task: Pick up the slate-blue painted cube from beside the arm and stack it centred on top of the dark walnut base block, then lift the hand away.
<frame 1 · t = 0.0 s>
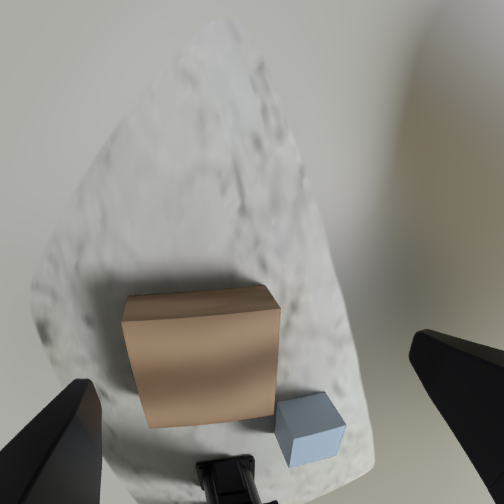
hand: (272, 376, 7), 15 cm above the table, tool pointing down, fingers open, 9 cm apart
walnut base: (201, 346, 24), on the table
blue cube: (299, 413, 29), on the table
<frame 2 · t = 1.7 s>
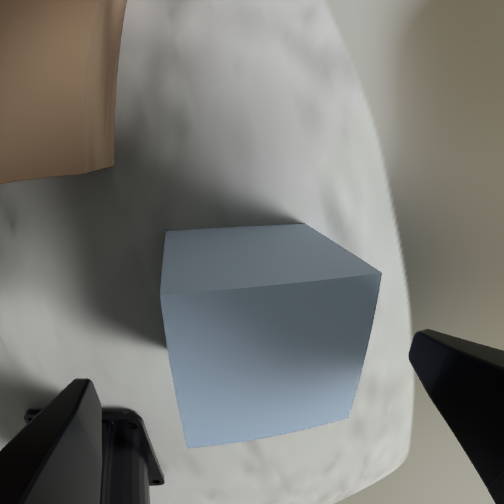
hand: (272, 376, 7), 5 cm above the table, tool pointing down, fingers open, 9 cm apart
walnut base: (5, 53, 7), on the table
blue cube: (238, 291, 12), on the table
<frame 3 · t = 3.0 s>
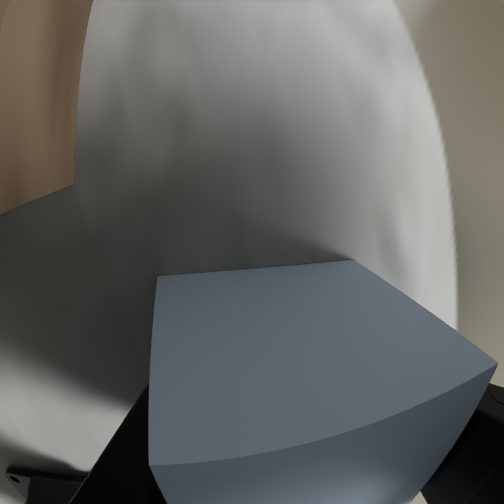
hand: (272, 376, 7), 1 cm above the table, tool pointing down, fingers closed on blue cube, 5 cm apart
blue cube: (261, 352, 8), on the table, touching gripper
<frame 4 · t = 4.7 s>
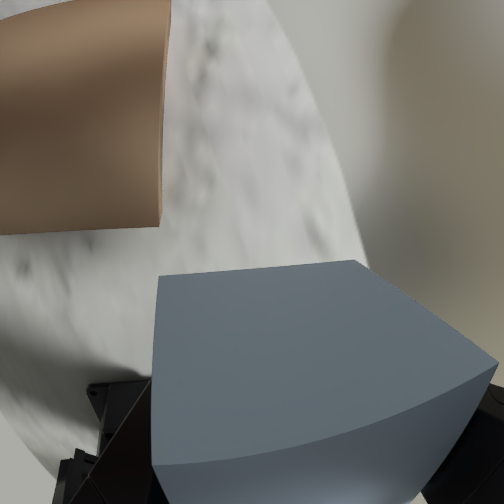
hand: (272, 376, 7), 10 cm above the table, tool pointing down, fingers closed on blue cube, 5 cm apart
walnut base: (70, 118, 13), on the table
blue cube: (262, 352, 8), point 9 cm above the table, touching gripper
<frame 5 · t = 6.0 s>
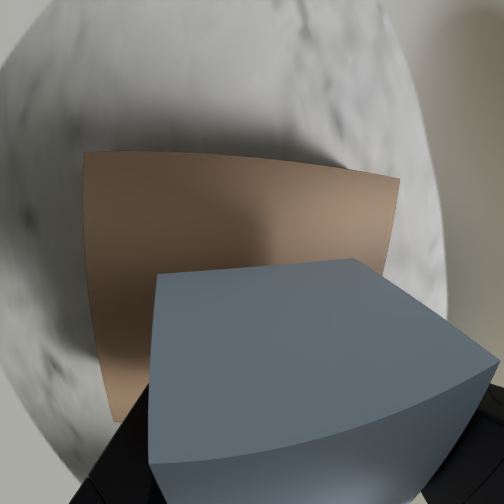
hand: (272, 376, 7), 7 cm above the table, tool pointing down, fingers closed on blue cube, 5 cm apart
walnut base: (226, 272, 14), on the table
blue cube: (261, 351, 8), point 6 cm above the table, touching gripper
when the fingers open (6 cm above the table, at t = 6.7 s): blue cube drops 2 cm, resting on walnut base.
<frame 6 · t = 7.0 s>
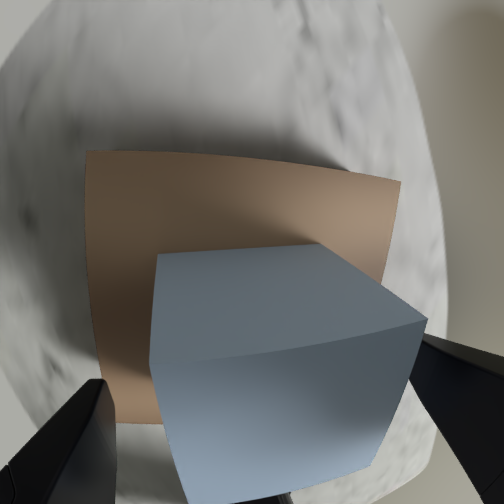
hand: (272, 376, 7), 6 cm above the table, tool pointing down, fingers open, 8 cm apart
walnut base: (226, 273, 14), on the table, touching blue cube
blue cube: (243, 322, 10), point 4 cm above the table, touching walnut base
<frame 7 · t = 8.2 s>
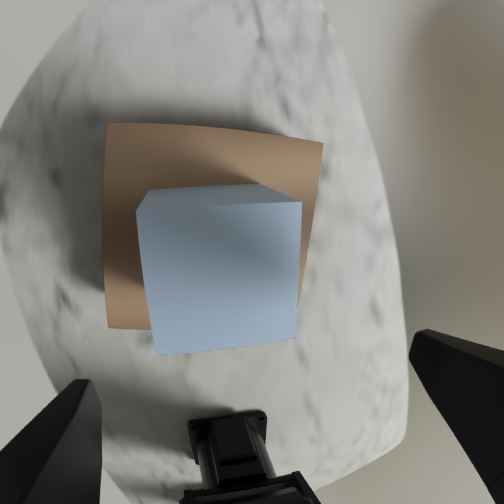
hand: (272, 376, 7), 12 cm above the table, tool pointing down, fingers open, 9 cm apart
walnut base: (201, 218, 18), on the table, touching blue cube
blue cube: (207, 240, 15), point 4 cm above the table, touching walnut base
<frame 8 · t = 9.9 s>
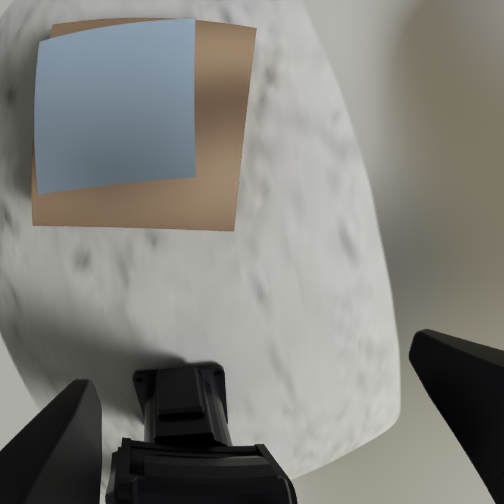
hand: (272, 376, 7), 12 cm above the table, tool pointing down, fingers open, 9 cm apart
walnut base: (143, 124, 16), on the table
blue cube: (132, 117, 12), point 4 cm above the table
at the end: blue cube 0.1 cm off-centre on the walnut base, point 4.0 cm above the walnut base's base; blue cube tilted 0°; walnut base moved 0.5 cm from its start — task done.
